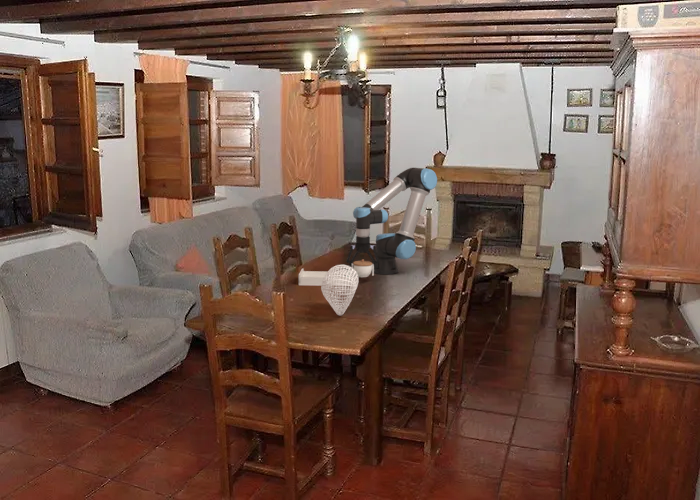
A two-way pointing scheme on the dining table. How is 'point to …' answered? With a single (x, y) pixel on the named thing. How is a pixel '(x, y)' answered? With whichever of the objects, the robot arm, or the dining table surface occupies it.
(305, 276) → the pusher lane
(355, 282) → the heart
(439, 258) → the dining table surface
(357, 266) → the lidded jar
